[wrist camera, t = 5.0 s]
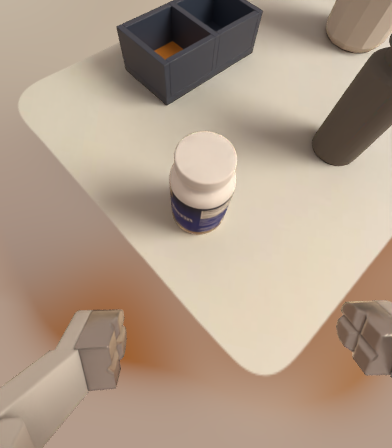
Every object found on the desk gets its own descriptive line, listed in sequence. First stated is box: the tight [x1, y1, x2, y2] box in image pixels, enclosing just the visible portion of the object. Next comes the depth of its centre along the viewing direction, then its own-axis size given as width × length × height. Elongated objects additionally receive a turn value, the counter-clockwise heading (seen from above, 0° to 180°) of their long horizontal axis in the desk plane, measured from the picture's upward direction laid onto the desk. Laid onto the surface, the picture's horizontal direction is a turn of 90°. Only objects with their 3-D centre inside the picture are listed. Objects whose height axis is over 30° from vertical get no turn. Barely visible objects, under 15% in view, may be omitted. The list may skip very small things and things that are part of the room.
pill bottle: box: [169, 131, 237, 234], centre depth 22 cm, size 6×6×10 cm
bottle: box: [312, 34, 392, 166], centre depth 24 cm, size 6×6×15 cm
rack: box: [117, 0, 263, 105], centre depth 34 cm, size 17×9×6 cm, turn 133°
